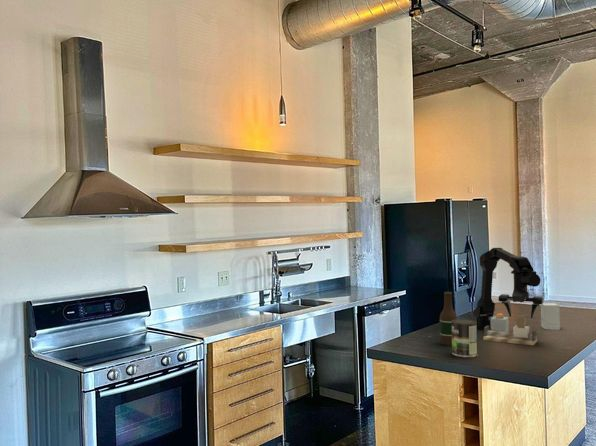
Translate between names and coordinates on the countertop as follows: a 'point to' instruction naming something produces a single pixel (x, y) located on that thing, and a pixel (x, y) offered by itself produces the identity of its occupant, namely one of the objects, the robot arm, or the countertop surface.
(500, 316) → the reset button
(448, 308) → the beer bottle
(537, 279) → the robot arm
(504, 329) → the box
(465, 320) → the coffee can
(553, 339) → the countertop surface
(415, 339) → the countertop surface
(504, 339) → the rail base
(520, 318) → the carriage
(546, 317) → the supplement box
